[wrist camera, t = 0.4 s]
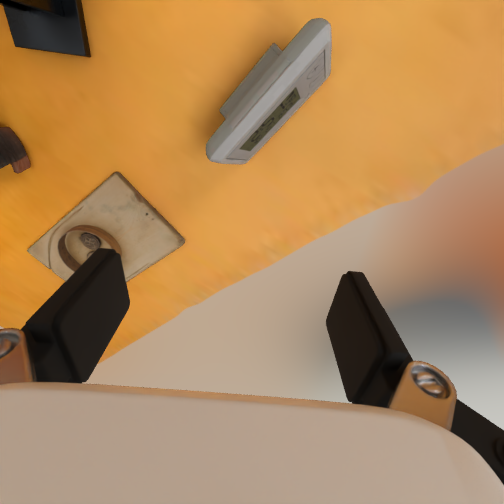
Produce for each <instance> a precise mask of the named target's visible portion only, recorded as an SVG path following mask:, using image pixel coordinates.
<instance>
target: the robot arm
mask: <svg viewBox="0 0 504 504" xmlns="http://www.w3.org/2000/svg"><path fill="white" fill-rule="evenodd" d="M129 305H130V299H129V294H128V289H127V285H126V280H125V275H124V270H123V265H122V260H121V256H120V254H119V253H117V252H116V250H115V249H108V248H98V249H97V250H96V251H95V252H94V253H93V254H92V255H91V256H90V257H89V258H88V259H87V260H86V261H85V262H84V263H83V264H82V265H81V266H80V267H79V268H78V269H77V270H76V271H75V272H74V273H73V274H72V275H71V276H70V277H69V278H68V279H67V281H66V282H65V283H64V284H63V285H62V286H61V287H60V288H59V289H58V290H57V291H56V292H55V293H54V294H53V295H52V296H51V297H50V298H49V299H48V300H47V301H46V302H45V303H44V304H43V305H42V306H41V307H40V308H39V309H38V310H37V311H36V313H35V314H34V315H33V316H32V317H31V318H30V319H29V320H28V321H27V322H26V325H25V326H24V327H23V328H22V329H21V330H19V329H15V328H5V329H0V504H504V430H502V429H501V428H499V427H497V426H496V425H495V424H493V423H492V422H490V421H489V420H487V419H486V418H484V417H483V416H482V415H480V414H479V413H477V412H476V411H474V410H473V409H471V408H470V407H468V406H467V405H465V404H464V403H462V402H461V401H459V400H458V399H456V398H457V394H456V389H455V387H454V385H453V383H452V382H451V380H450V379H449V378H448V377H447V376H446V375H445V374H444V373H443V372H442V371H441V370H439V369H438V368H436V367H435V366H433V365H430V364H429V363H426V362H422V361H413V359H412V358H411V356H410V354H409V352H408V350H407V349H406V347H405V345H404V343H403V341H402V340H401V338H400V336H399V334H398V333H397V331H396V329H395V327H394V325H393V324H392V322H391V320H390V318H389V317H388V315H387V313H386V312H385V309H384V308H383V307H382V305H381V304H380V302H379V300H378V298H377V296H376V295H375V293H374V291H373V289H372V288H371V286H370V284H369V282H368V280H367V279H366V277H365V275H364V274H363V273H362V272H353V271H348V272H347V273H346V274H343V275H342V277H341V280H340V283H339V285H338V288H337V291H336V294H335V296H334V299H333V302H332V305H331V307H330V310H329V313H328V316H327V319H326V326H327V330H328V333H329V337H330V340H331V344H332V347H333V350H334V354H335V358H336V361H337V365H338V368H339V372H340V375H341V379H342V382H343V386H344V389H345V393H346V397H347V399H348V401H349V402H352V404H349V403H340V402H329V401H318V400H305V399H292V398H280V397H268V396H255V395H241V394H228V393H214V392H201V391H187V390H173V389H158V388H144V387H129V386H114V385H99V384H82V382H86V381H87V380H88V379H89V377H90V375H91V374H92V372H93V370H94V368H95V367H96V365H97V363H98V361H99V360H100V358H101V356H102V354H103V353H104V351H105V349H106V347H107V346H108V344H109V342H110V340H111V339H112V337H113V335H114V333H115V332H116V330H117V328H118V326H119V325H120V323H121V321H122V319H123V318H124V316H125V314H126V312H127V311H128V309H129Z"/></svg>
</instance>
